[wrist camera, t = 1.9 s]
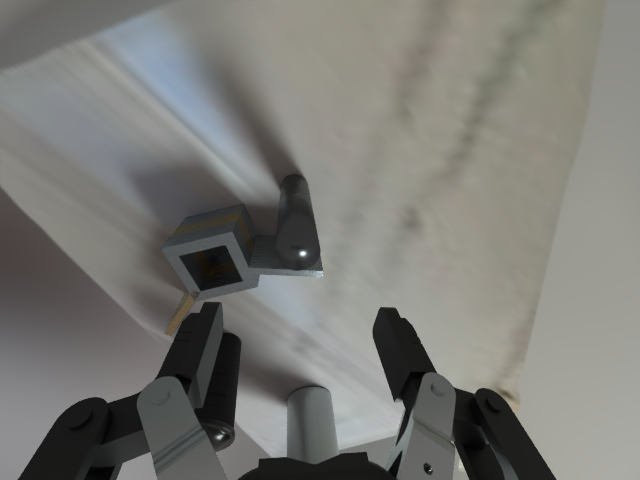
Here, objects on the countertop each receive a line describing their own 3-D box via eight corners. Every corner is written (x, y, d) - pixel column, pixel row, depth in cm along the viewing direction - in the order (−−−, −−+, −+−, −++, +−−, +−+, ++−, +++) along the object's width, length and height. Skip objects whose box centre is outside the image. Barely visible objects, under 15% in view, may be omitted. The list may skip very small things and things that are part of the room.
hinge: (323, 263, 36) (330, 298, 30) (187, 296, 37) (166, 336, 31) (304, 188, 30) (307, 213, 24) (141, 228, 31) (105, 262, 25)
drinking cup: (197, 353, 43) (136, 528, 26) (206, 322, 40) (143, 500, 22) (243, 360, 45) (214, 526, 28) (255, 332, 42) (231, 501, 25)
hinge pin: (311, 196, 31) (324, 265, 19) (285, 203, 31) (282, 275, 19) (304, 171, 29) (314, 228, 17) (277, 178, 29) (269, 239, 17)
